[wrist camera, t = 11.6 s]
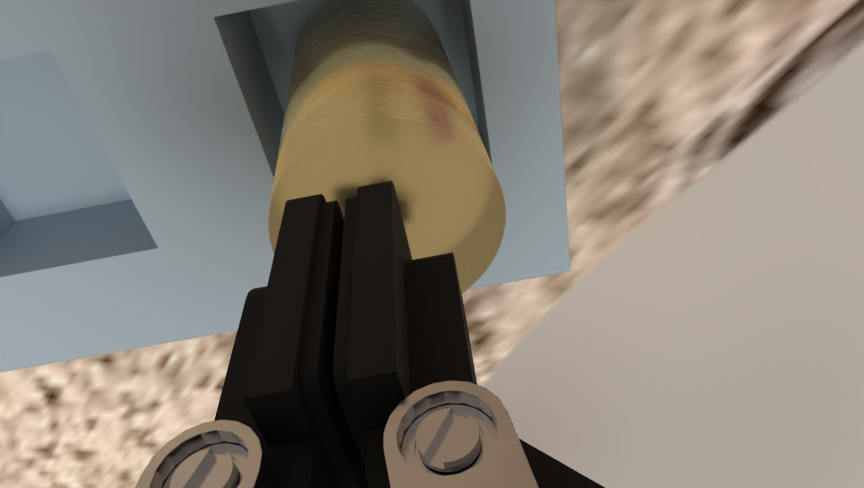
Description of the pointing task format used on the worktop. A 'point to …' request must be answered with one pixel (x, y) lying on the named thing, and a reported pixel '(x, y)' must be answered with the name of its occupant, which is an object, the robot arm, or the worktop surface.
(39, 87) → the block
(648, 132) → the worktop surface
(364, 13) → the yellow cylinder
